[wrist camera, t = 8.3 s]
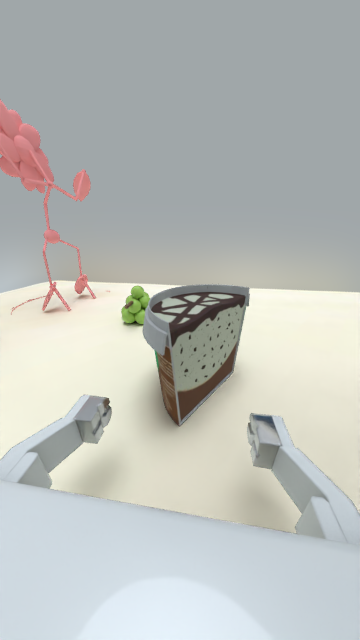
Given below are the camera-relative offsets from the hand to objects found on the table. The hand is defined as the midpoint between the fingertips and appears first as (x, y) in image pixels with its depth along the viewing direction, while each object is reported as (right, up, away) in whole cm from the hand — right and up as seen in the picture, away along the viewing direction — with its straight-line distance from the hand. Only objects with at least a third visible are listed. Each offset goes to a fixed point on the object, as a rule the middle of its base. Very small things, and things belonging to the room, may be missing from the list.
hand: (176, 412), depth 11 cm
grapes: (-8, +6, +26) cm, 27 cm away
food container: (+1, -2, +10) cm, 10 cm away
